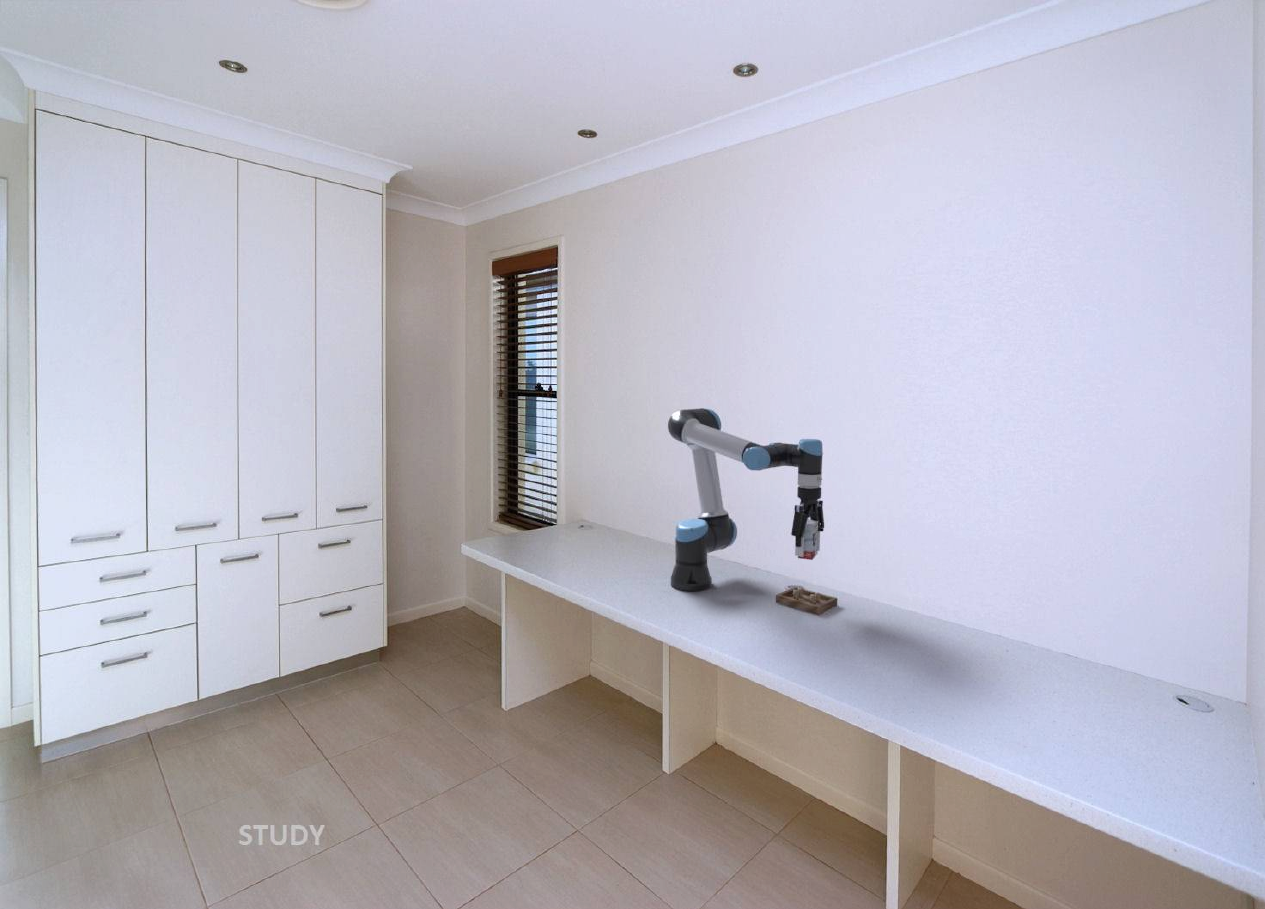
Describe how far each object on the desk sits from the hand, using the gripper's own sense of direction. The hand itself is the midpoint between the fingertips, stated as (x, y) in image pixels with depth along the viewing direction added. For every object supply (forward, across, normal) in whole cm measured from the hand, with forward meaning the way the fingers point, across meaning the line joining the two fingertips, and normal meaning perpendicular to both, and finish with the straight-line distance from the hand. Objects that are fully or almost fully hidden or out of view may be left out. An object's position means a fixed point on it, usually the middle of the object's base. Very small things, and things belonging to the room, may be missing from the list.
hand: (807, 552), depth 205 cm
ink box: (+1, 0, 0) cm, 1 cm away
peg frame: (+18, 0, 0) cm, 18 cm away
